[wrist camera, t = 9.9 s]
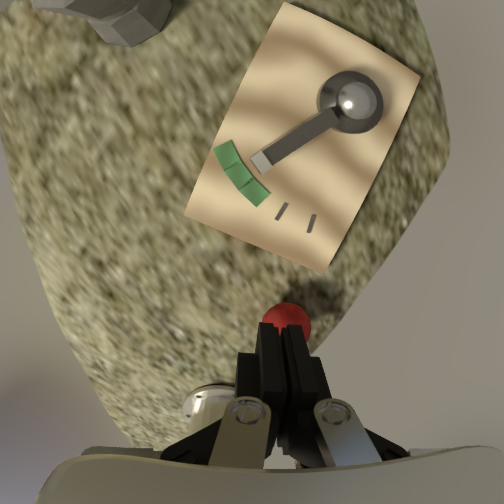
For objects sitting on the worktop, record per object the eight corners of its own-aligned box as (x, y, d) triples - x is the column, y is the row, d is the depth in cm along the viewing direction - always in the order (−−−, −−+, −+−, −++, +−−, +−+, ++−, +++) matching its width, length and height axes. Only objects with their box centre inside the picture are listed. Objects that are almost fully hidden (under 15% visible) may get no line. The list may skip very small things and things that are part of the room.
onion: (314, 314, 40) (326, 353, 32) (277, 337, 41) (282, 378, 33) (289, 282, 38) (298, 318, 31) (251, 307, 39) (251, 346, 32)
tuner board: (320, 269, 37) (323, 275, 36) (186, 211, 35) (183, 215, 33) (414, 78, 29) (421, 76, 27) (283, 6, 26) (284, 1, 25)
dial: (352, 64, 27) (366, 56, 23) (385, 115, 29) (402, 114, 25) (236, 138, 30) (233, 138, 26) (272, 188, 32) (275, 196, 28)
